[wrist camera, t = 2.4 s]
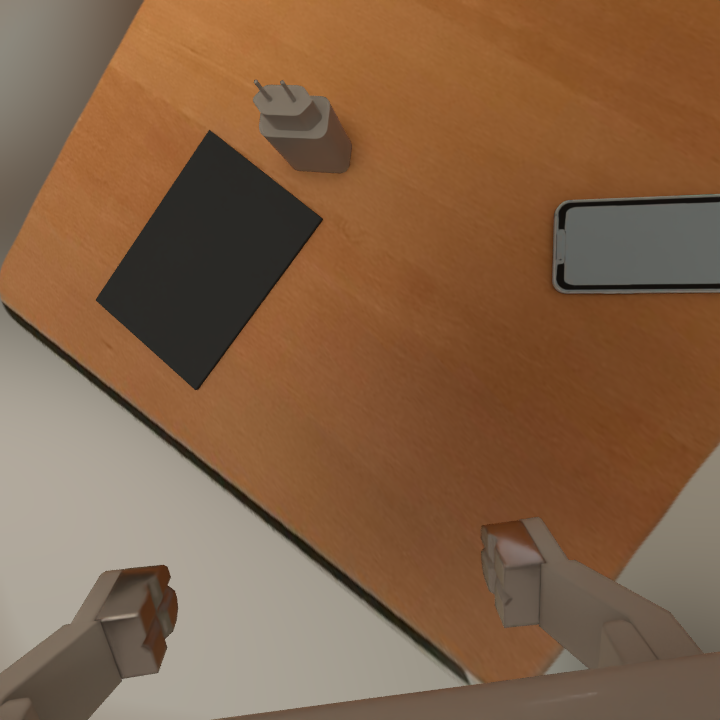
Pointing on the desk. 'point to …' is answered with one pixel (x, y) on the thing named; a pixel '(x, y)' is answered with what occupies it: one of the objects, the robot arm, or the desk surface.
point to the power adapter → (303, 128)
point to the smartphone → (637, 245)
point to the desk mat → (207, 259)
